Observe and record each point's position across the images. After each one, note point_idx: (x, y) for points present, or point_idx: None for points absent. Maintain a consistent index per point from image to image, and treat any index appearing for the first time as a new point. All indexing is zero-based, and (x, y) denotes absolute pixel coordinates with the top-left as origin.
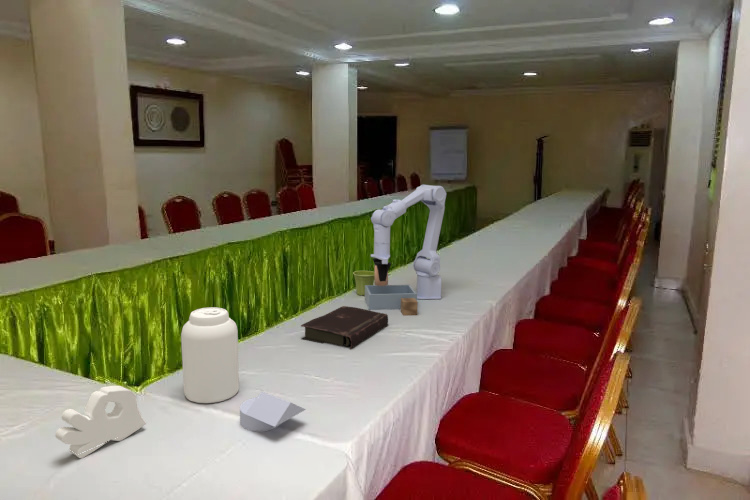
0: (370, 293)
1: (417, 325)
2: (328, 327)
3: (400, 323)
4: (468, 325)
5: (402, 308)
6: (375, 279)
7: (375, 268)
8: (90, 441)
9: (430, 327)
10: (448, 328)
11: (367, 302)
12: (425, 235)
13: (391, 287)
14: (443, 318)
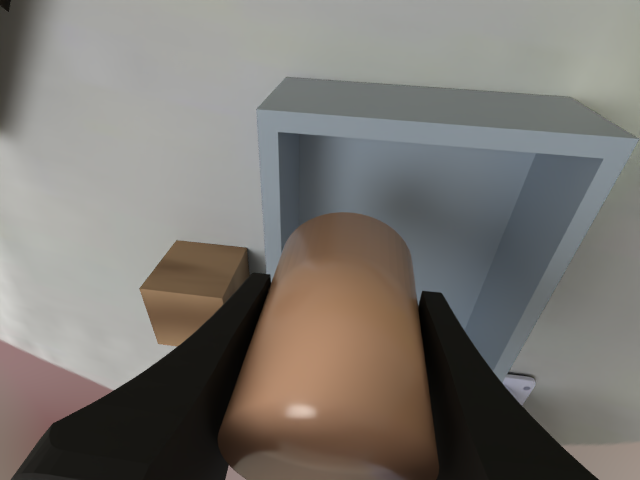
0: (299, 130)
1: (45, 254)
2: None
3: (49, 197)
4: (99, 383)
5: (185, 262)
6: (313, 249)
7: (290, 363)
8: None
9: (37, 288)
10: (48, 332)
11: (379, 90)
12: None
13: (508, 321)
14: (160, 354)
